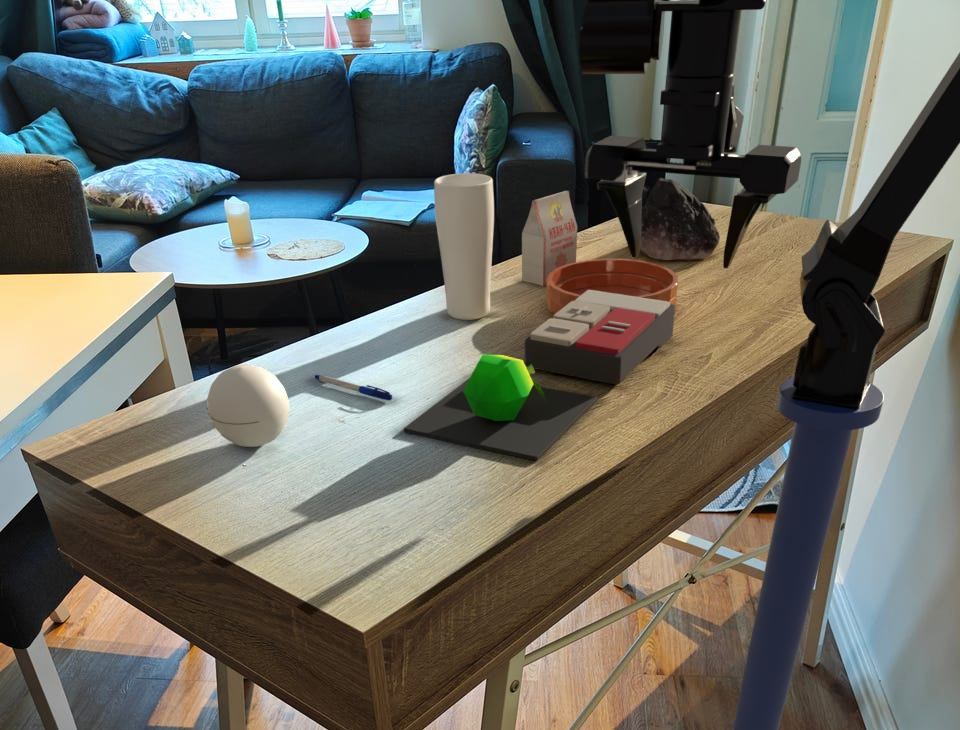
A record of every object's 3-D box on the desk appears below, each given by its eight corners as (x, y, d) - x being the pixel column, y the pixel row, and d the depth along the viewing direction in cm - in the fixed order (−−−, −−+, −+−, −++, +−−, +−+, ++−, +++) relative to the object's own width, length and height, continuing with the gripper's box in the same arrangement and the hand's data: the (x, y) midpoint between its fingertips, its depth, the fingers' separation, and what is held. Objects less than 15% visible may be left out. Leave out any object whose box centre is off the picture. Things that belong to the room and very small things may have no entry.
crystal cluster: (734, 248, 129) (741, 171, 124) (700, 265, 120) (706, 182, 115) (648, 245, 136) (651, 171, 130) (609, 260, 126) (611, 182, 121)
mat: (597, 400, 89) (597, 396, 88) (537, 461, 79) (537, 457, 79) (474, 378, 94) (473, 374, 94) (403, 432, 85) (403, 428, 84)
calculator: (522, 333, 93) (586, 283, 102) (523, 372, 95) (585, 320, 105) (619, 350, 88) (677, 297, 97) (617, 391, 91) (673, 335, 100)
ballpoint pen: (395, 399, 90) (394, 389, 90) (389, 402, 90) (388, 392, 89) (317, 378, 95) (316, 369, 95) (311, 381, 95) (310, 372, 94)
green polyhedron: (477, 352, 79) (533, 320, 84) (438, 386, 84) (493, 353, 89) (522, 421, 80) (574, 385, 86) (480, 450, 85) (532, 414, 90)
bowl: (691, 295, 112) (695, 266, 110) (648, 337, 101) (651, 306, 99) (577, 281, 118) (578, 253, 116) (525, 318, 107) (525, 289, 105)
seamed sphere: (266, 418, 88) (252, 345, 83) (310, 441, 84) (298, 365, 79) (175, 453, 83) (155, 377, 78) (218, 480, 78) (199, 401, 74)
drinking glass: (433, 321, 108) (424, 185, 98) (451, 303, 113) (444, 171, 103) (487, 325, 106) (483, 187, 97) (502, 306, 111) (500, 173, 102)
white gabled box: (522, 280, 119) (521, 198, 113) (554, 268, 123) (556, 188, 116) (543, 285, 117) (544, 203, 111) (575, 273, 121) (578, 192, 114)
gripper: (830, 64, 79) (796, 249, 89) (631, 59, 86) (620, 231, 96) (801, 82, 71) (768, 282, 81) (586, 75, 79) (579, 260, 89)
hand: (680, 261), depth 87 cm, fingers open, 9 cm apart
